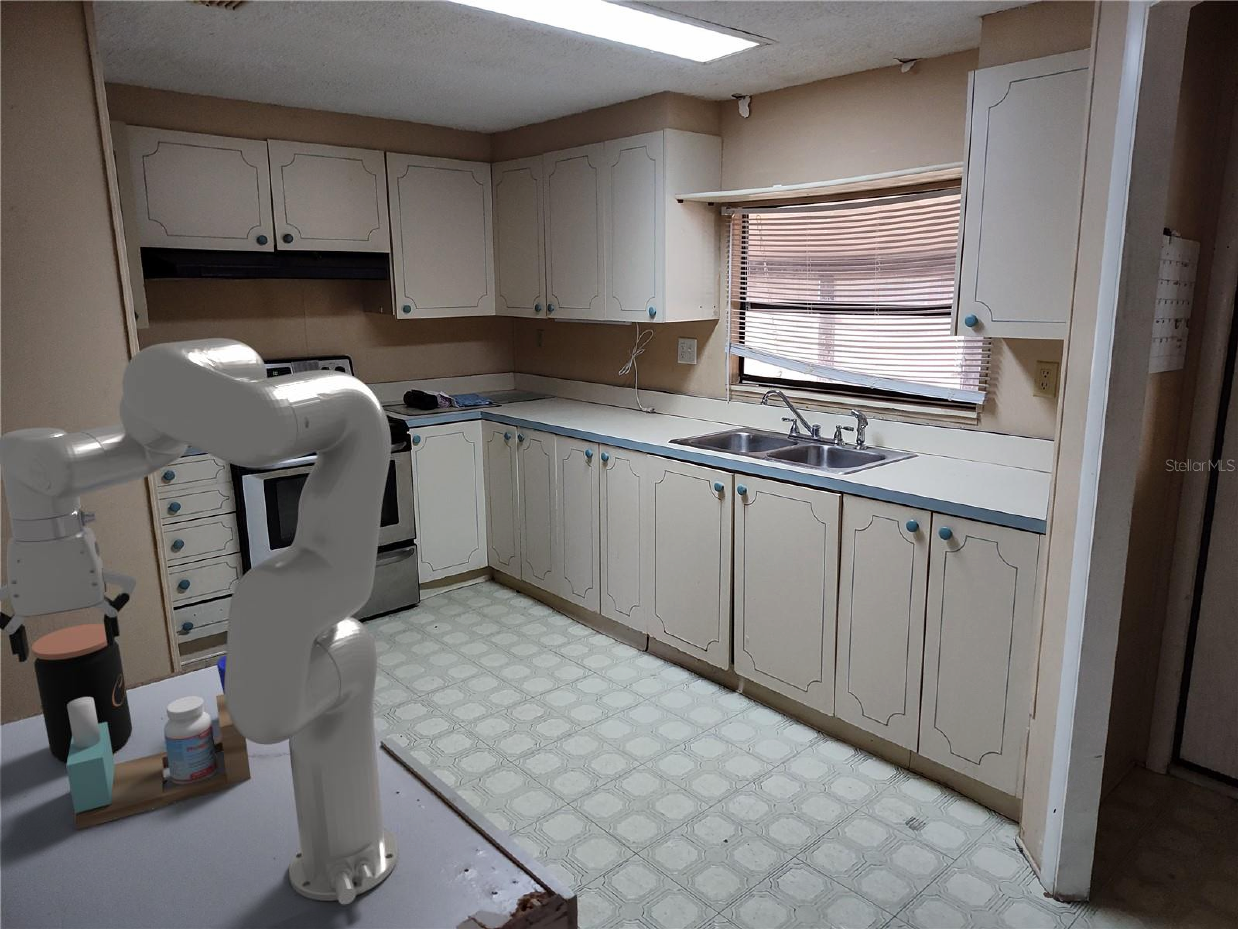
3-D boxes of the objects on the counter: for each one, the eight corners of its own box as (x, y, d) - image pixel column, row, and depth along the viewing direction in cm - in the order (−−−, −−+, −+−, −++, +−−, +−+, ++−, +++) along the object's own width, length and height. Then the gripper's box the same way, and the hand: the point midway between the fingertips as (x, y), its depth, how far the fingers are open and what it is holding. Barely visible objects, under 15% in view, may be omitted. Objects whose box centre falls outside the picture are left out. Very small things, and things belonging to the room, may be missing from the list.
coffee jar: (136, 751, 125) (118, 641, 121) (52, 775, 119) (30, 661, 115) (130, 721, 134) (113, 617, 129) (51, 742, 128) (31, 634, 124)
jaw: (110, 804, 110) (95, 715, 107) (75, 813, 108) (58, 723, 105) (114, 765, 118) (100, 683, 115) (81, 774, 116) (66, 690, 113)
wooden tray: (251, 782, 117) (244, 724, 115) (76, 829, 107) (65, 768, 105) (244, 741, 127) (237, 688, 125) (84, 781, 118) (74, 724, 115)
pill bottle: (199, 789, 115) (188, 717, 113) (161, 785, 117) (150, 713, 114) (227, 765, 121) (218, 695, 119) (191, 760, 122) (181, 691, 120)
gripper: (128, 509, 112) (144, 626, 116) (-31, 527, 104) (-7, 652, 108) (126, 524, 105) (143, 647, 109) (-44, 544, 97) (-18, 677, 101)
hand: (68, 649), depth 108 cm, fingers open, 9 cm apart
